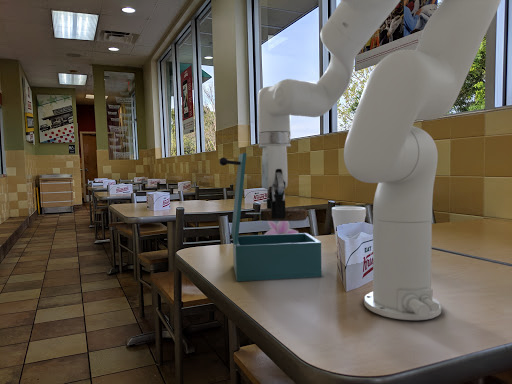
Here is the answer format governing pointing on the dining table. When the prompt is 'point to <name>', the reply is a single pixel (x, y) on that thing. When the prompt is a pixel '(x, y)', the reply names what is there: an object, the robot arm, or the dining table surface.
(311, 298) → the dining table surface
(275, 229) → the lily
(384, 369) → the dining table surface
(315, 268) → the chest
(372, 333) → the dining table surface
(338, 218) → the foam cup
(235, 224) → the lid
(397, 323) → the dining table surface
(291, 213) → the ice cream bar
